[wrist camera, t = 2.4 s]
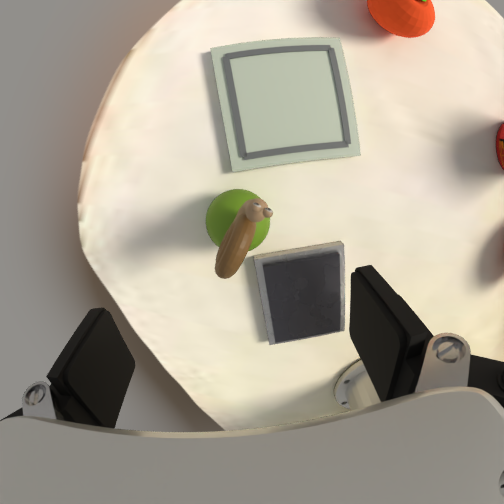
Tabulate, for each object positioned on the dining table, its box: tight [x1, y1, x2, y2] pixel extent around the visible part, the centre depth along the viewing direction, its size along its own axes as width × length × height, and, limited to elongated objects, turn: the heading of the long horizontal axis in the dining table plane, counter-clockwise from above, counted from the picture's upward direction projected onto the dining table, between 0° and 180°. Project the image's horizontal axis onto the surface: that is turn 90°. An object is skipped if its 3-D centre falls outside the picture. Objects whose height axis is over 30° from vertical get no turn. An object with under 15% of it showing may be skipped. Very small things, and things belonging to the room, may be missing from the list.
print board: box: [210, 37, 361, 172], centre depth 22 cm, size 12×12×1 cm
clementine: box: [367, 0, 435, 38], centre depth 15 cm, size 8×7×7 cm
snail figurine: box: [206, 189, 273, 279], centre depth 20 cm, size 5×6×12 cm
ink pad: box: [254, 241, 345, 345], centre depth 29 cm, size 11×9×2 cm
